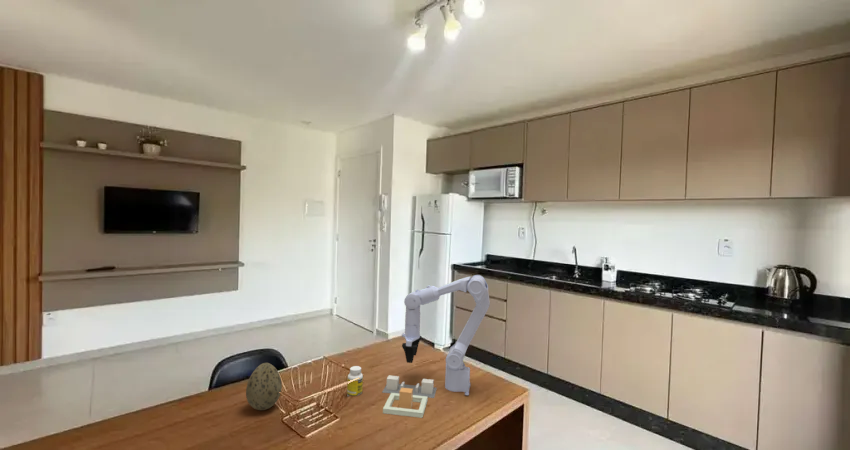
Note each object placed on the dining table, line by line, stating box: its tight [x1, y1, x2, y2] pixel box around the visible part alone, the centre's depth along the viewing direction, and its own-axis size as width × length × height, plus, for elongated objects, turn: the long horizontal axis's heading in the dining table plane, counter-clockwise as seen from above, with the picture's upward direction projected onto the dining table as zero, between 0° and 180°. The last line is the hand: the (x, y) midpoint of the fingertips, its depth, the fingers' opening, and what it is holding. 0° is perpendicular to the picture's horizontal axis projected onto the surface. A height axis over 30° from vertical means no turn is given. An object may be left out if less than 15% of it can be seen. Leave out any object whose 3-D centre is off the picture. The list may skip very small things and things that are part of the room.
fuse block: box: [381, 374, 438, 399], centre depth 136 cm, size 19×8×5 cm, turn 81°
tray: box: [382, 393, 429, 419], centre depth 124 cm, size 13×11×2 cm
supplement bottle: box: [346, 365, 364, 397], centre depth 133 cm, size 5×5×10 cm
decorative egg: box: [245, 362, 283, 411], centre depth 122 cm, size 11×11×15 cm
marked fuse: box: [398, 388, 414, 409], centre depth 124 cm, size 4×3×6 cm
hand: (411, 358), depth 143 cm, fingers open, 7 cm apart
